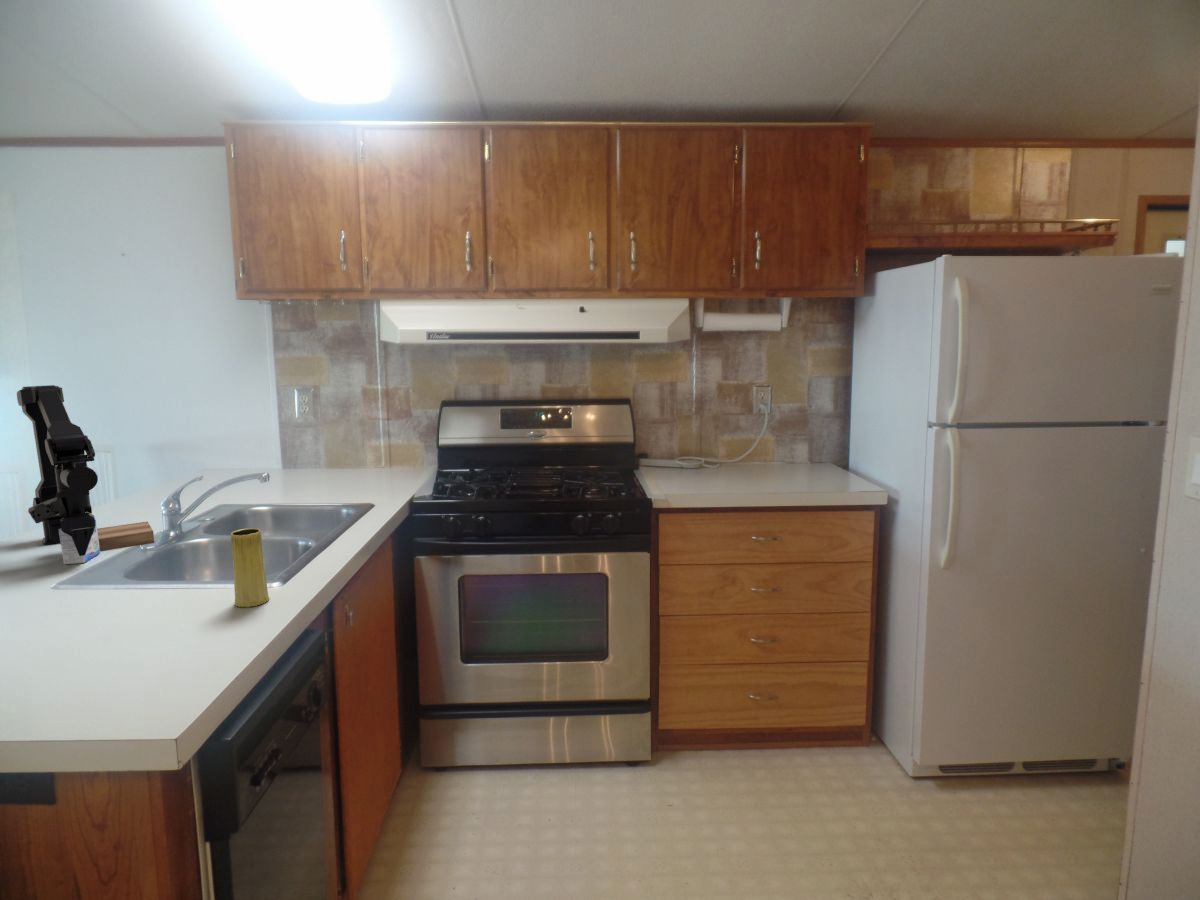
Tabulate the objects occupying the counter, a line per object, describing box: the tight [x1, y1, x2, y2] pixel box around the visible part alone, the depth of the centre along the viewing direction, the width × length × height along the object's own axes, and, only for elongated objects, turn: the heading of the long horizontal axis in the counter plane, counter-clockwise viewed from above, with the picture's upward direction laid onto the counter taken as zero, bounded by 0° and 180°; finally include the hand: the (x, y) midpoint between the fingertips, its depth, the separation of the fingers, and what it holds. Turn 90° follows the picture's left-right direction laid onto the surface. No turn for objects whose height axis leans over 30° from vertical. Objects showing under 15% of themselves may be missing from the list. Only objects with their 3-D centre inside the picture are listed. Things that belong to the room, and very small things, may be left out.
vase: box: [230, 527, 270, 608], centre depth 137 cm, size 6×6×14 cm
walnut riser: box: [97, 521, 155, 552], centre depth 179 cm, size 12×12×3 cm
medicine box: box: [59, 519, 101, 565], centre depth 165 cm, size 8×4×9 cm, turn 13°
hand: (81, 550), depth 165 cm, fingers closed on medicine box, 9 cm apart
